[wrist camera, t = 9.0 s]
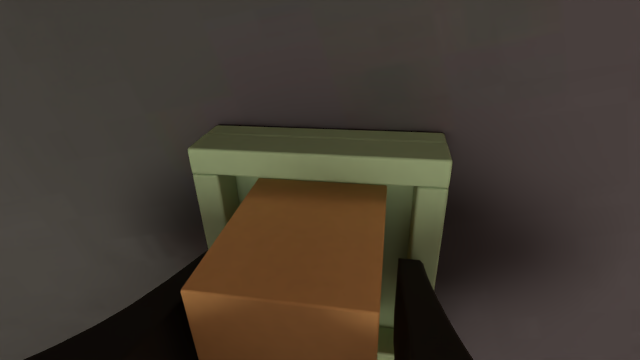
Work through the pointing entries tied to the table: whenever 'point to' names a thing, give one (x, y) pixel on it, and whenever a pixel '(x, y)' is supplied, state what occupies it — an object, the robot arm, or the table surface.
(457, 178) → the table surface
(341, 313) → the brown rectangular block
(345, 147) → the open green tray
